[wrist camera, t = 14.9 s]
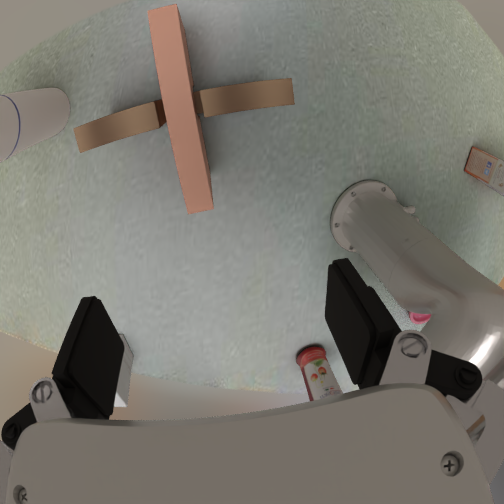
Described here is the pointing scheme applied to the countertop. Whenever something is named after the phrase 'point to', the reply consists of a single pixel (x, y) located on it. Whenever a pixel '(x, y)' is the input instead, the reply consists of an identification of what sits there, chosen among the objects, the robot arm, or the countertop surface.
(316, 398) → the liquor
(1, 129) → the cylindrical container
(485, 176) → the cracker box
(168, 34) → the terracotta slotted plate
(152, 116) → the walnut slotted plate
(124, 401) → the supplement box
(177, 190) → the countertop surface
